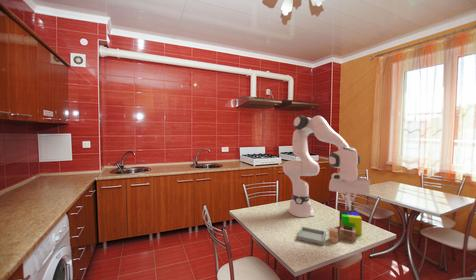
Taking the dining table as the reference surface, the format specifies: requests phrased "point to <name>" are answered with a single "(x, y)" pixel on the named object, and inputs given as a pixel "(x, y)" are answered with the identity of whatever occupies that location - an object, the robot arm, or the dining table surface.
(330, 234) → the oak block
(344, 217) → the puzzle toy
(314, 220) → the dining table surface
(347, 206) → the cylinder
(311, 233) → the tray
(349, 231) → the brown square socket box
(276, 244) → the dining table surface
